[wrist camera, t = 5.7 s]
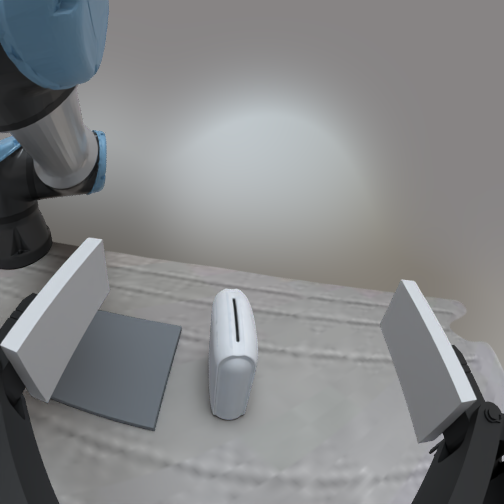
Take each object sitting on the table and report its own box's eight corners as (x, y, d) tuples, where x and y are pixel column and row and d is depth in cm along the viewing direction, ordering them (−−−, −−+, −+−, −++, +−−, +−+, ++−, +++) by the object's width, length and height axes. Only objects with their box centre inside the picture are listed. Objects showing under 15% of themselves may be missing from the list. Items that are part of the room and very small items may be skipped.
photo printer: (207, 352, 38) (212, 277, 32) (239, 353, 39) (252, 279, 33) (208, 421, 30) (213, 353, 23) (247, 420, 30) (266, 354, 24)
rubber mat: (81, 309, 40) (80, 305, 40) (181, 330, 41) (181, 326, 41) (34, 391, 27) (32, 388, 26) (154, 430, 27) (153, 428, 27)
